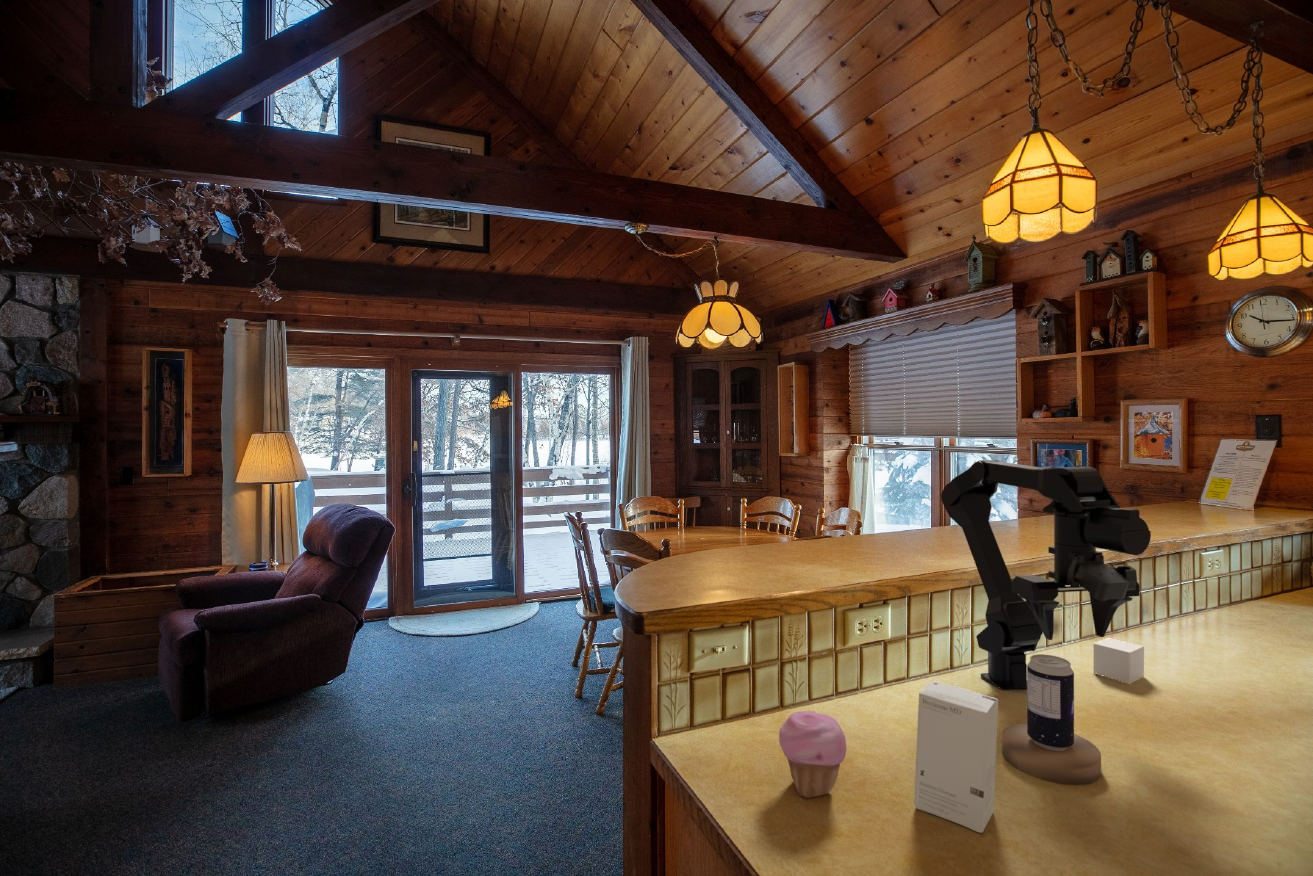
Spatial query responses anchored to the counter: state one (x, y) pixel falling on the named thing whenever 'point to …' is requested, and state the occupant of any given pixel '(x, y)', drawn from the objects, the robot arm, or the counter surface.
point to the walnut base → (1052, 758)
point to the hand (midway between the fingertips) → (1074, 637)
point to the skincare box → (956, 754)
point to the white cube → (1119, 660)
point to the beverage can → (1050, 702)
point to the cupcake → (813, 751)
